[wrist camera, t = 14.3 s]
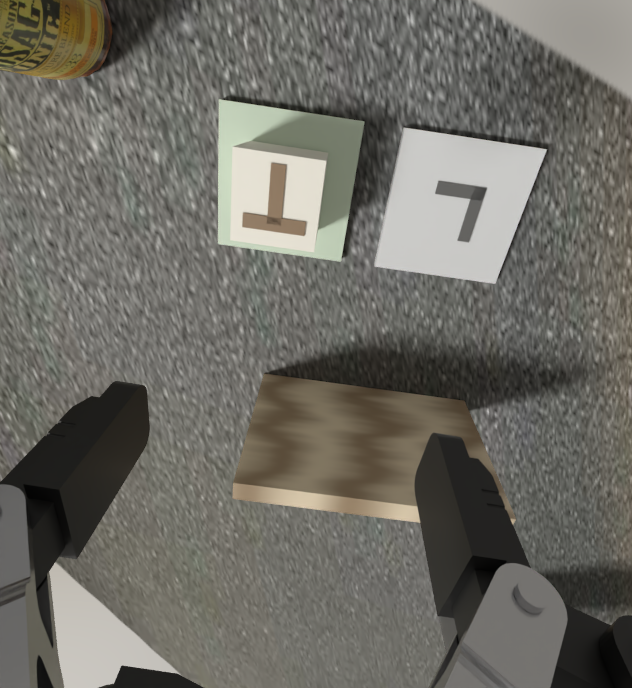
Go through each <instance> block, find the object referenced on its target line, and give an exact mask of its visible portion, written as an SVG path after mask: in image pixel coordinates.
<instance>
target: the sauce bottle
mask: <svg viewBox="0 0 632 688" xmlns="http://www.w3.org/2000/svg"><path fill="white" fill-rule="evenodd" d="M111 37H112V25H111V18H110V15H109V13H108V9H107V6H106V3H105V0H0V70H2V71H8V72H16V73H21V74H27V75H32V76H38V77H43V78H49V79H57V80H67V79H73V78H74V79H75V78H78V77H83V76H89V75H90V74H92V73H93V72H94V71H96V70H98V69H100V67H101V65H102V64H103V62H104V61H105V58H106V56H107V53H108V51H109V48H110V41H111Z"/></svg>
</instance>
